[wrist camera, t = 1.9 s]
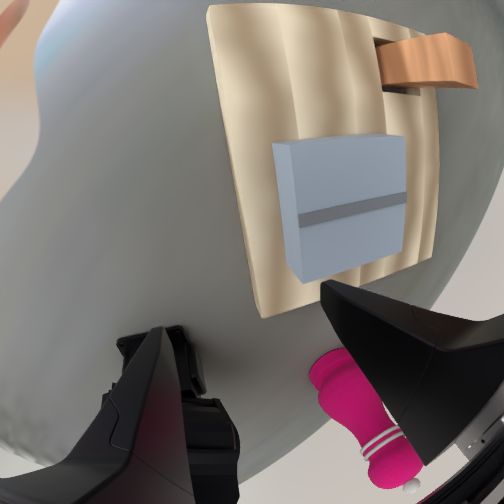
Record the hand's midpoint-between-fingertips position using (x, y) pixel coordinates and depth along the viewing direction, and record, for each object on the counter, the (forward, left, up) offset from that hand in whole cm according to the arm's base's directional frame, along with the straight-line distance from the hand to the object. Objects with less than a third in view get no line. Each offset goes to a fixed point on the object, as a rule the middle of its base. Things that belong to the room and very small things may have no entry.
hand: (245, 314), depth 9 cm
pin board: (+12, +3, -12) cm, 18 cm away
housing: (+9, 0, -10) cm, 14 cm away
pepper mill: (+10, -22, -12) cm, 27 cm away
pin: (+17, +10, -12) cm, 24 cm away
